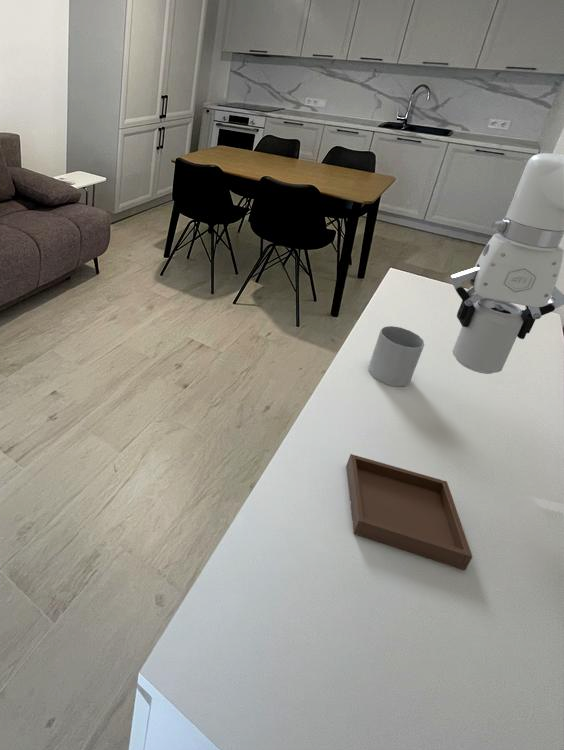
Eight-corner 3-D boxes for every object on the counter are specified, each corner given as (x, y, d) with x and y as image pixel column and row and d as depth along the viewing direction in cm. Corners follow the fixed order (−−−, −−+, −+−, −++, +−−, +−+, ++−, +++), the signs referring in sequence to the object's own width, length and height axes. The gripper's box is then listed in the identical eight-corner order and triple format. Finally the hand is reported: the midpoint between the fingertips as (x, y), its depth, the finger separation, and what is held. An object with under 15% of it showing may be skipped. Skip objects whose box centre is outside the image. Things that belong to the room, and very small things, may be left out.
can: (457, 370, 86) (482, 310, 81) (445, 347, 92) (467, 290, 88) (507, 381, 84) (536, 320, 79) (491, 357, 90) (517, 299, 86)
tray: (441, 493, 81) (447, 481, 80) (465, 570, 69) (472, 557, 68) (346, 465, 85) (350, 453, 84) (353, 533, 73) (358, 520, 72)
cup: (378, 358, 116) (390, 322, 112) (415, 377, 110) (430, 339, 106) (361, 371, 111) (374, 334, 107) (400, 392, 105) (414, 352, 101)
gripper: (473, 231, 77) (437, 327, 84) (610, 252, 72) (560, 353, 79) (461, 217, 84) (428, 307, 91) (586, 236, 79) (541, 330, 86)
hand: (490, 328), depth 85 cm, fingers closed on can, 7 cm apart
